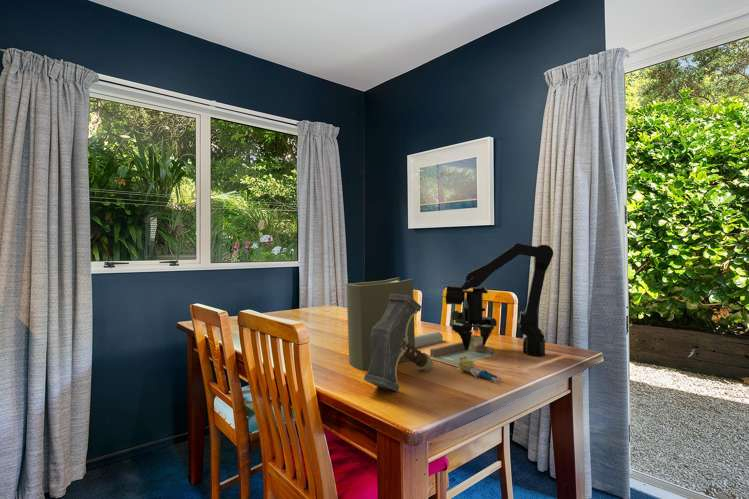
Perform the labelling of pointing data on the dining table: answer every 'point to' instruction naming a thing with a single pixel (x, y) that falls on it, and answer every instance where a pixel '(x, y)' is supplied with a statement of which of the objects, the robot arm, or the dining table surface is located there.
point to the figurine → (476, 370)
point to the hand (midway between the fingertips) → (474, 347)
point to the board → (456, 354)
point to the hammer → (394, 343)
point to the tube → (428, 339)
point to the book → (371, 315)
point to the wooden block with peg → (478, 345)
